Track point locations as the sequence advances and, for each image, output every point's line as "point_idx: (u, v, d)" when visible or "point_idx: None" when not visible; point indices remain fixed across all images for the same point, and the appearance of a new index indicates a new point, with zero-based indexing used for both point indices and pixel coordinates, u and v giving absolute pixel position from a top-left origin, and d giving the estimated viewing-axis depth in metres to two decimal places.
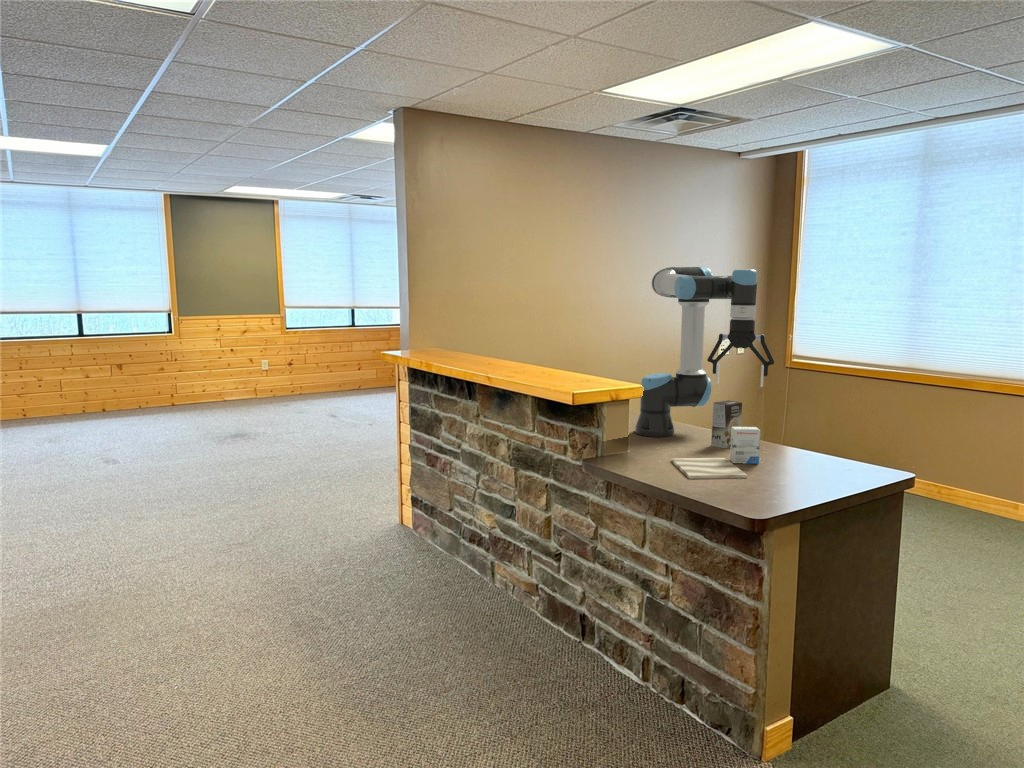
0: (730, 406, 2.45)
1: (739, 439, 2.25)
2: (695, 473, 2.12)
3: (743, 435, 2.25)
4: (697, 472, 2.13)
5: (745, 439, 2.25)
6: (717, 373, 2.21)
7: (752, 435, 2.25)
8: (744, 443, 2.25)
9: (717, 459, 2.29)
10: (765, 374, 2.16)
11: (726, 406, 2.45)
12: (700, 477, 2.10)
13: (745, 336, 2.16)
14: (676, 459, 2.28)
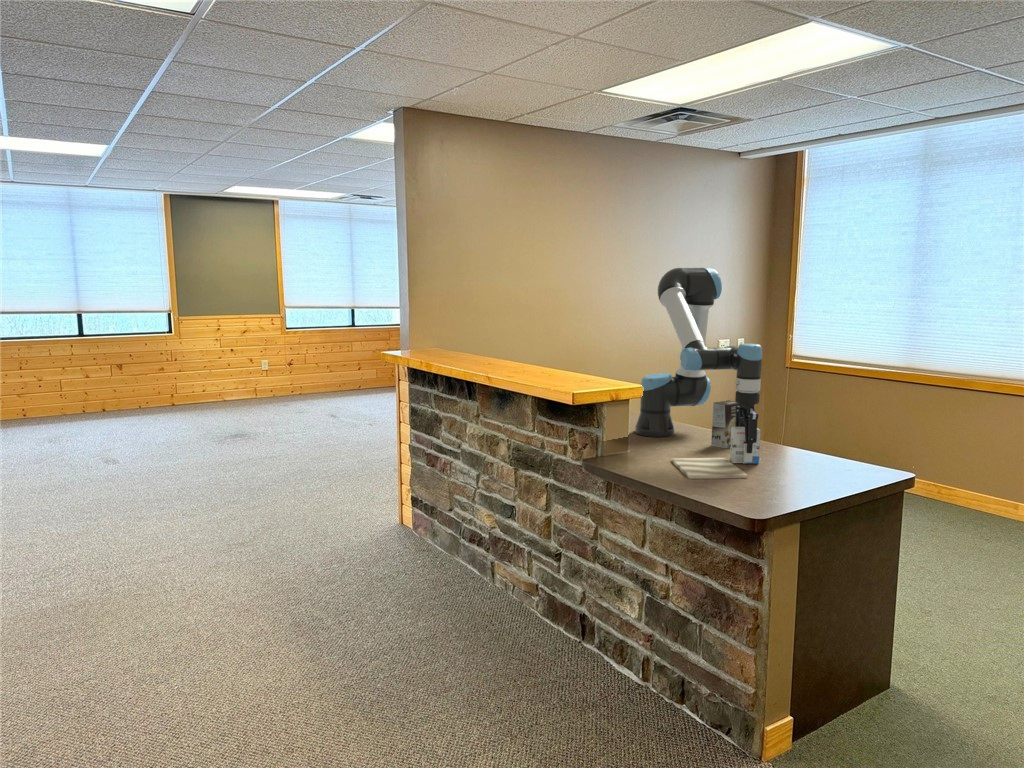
0: (730, 406, 2.45)
1: (739, 439, 2.25)
2: (695, 473, 2.12)
3: (743, 435, 2.25)
4: (697, 472, 2.13)
5: None
6: None
7: None
8: None
9: (717, 459, 2.29)
10: (747, 451, 2.24)
11: (726, 406, 2.45)
12: (700, 477, 2.10)
13: (745, 406, 2.24)
14: (676, 459, 2.28)
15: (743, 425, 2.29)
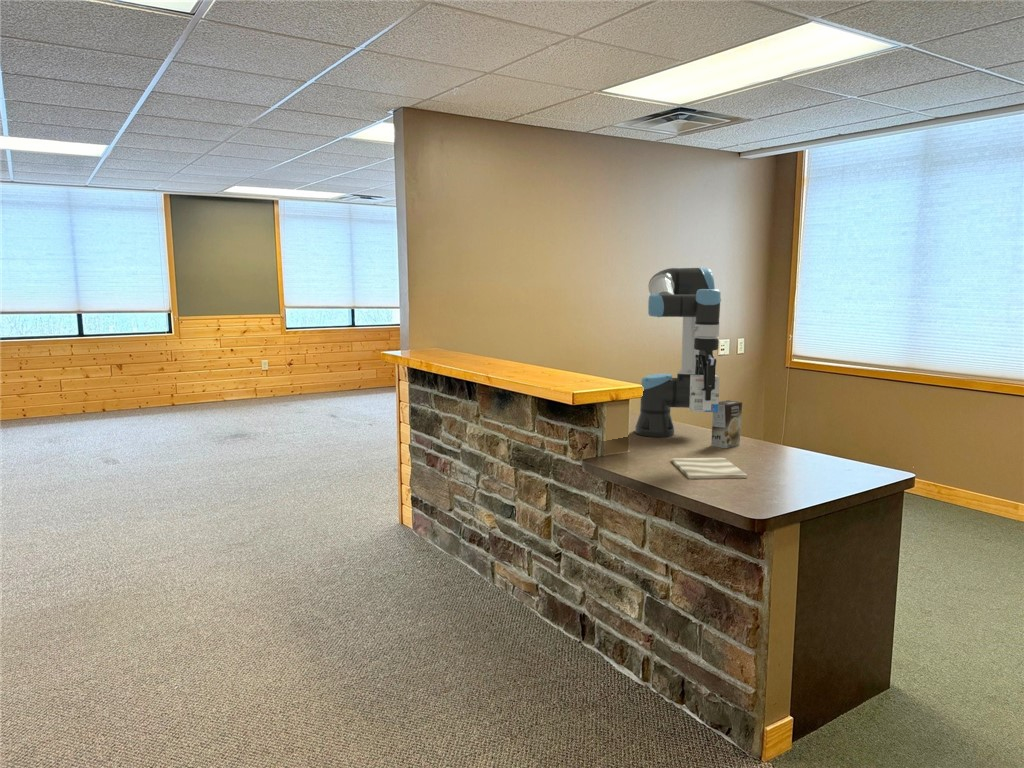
0: (730, 406, 2.45)
1: (697, 387, 2.21)
2: (695, 473, 2.12)
3: (702, 382, 2.21)
4: (697, 472, 2.13)
5: None
6: None
7: None
8: None
9: (717, 459, 2.29)
10: (705, 398, 2.20)
11: (726, 406, 2.45)
12: (700, 477, 2.10)
13: (703, 352, 2.20)
14: (676, 459, 2.28)
15: (702, 373, 2.25)
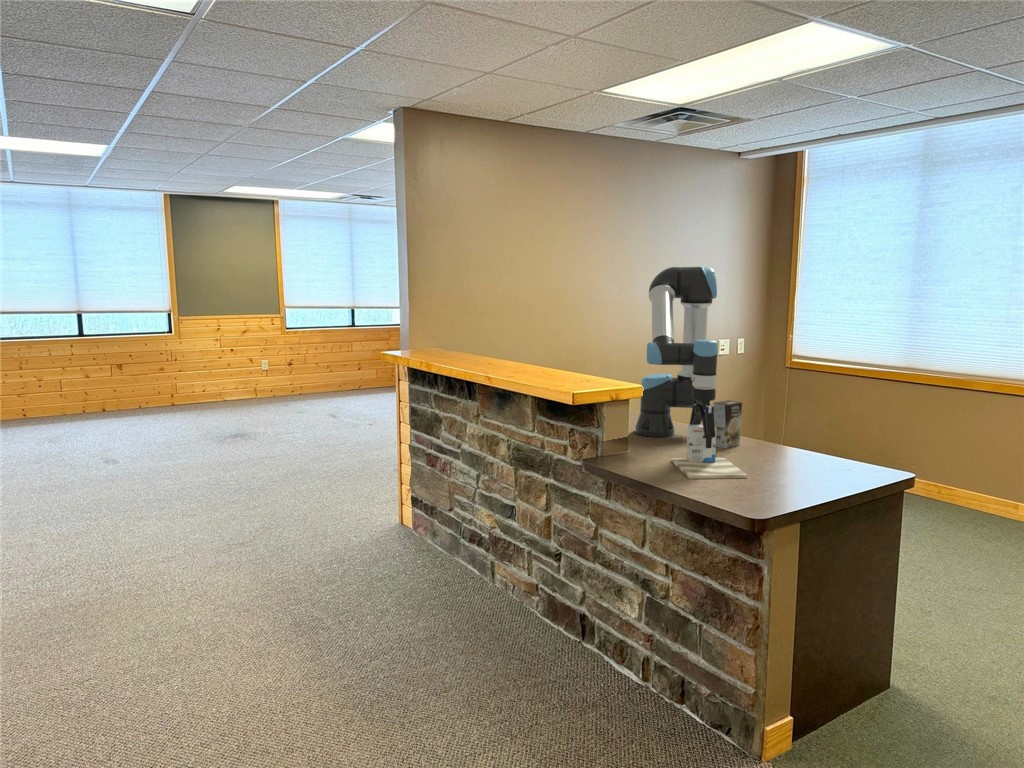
0: (730, 406, 2.45)
1: (695, 437, 2.24)
2: (695, 473, 2.12)
3: (699, 433, 2.23)
4: (697, 472, 2.13)
5: (701, 437, 2.23)
6: None
7: None
8: (700, 441, 2.24)
9: (717, 459, 2.29)
10: (706, 446, 2.19)
11: (726, 406, 2.45)
12: (700, 477, 2.10)
13: (700, 404, 2.23)
14: (676, 459, 2.28)
15: (698, 419, 2.29)
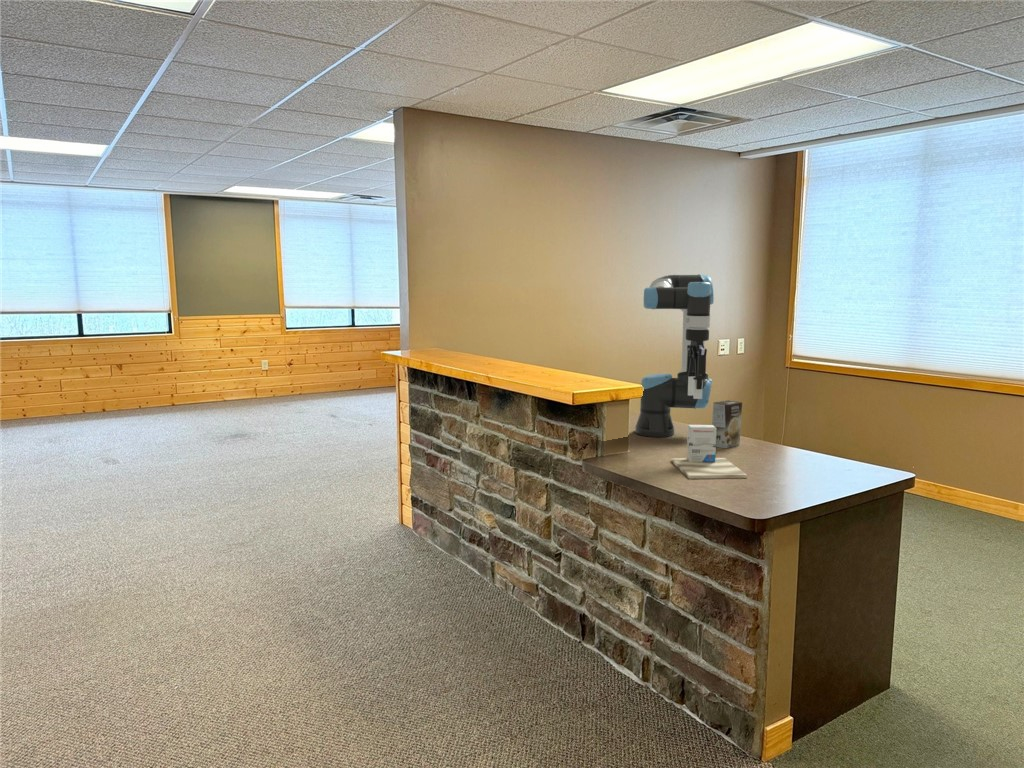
0: (730, 406, 2.45)
1: (695, 437, 2.24)
2: (695, 473, 2.12)
3: (699, 433, 2.23)
4: (697, 472, 2.13)
5: (701, 437, 2.23)
6: (688, 385, 2.35)
7: (708, 433, 2.23)
8: (700, 441, 2.24)
9: (717, 459, 2.29)
10: (697, 387, 2.28)
11: (726, 406, 2.45)
12: (700, 477, 2.10)
13: (695, 343, 2.28)
14: (676, 459, 2.28)
15: (694, 363, 2.33)
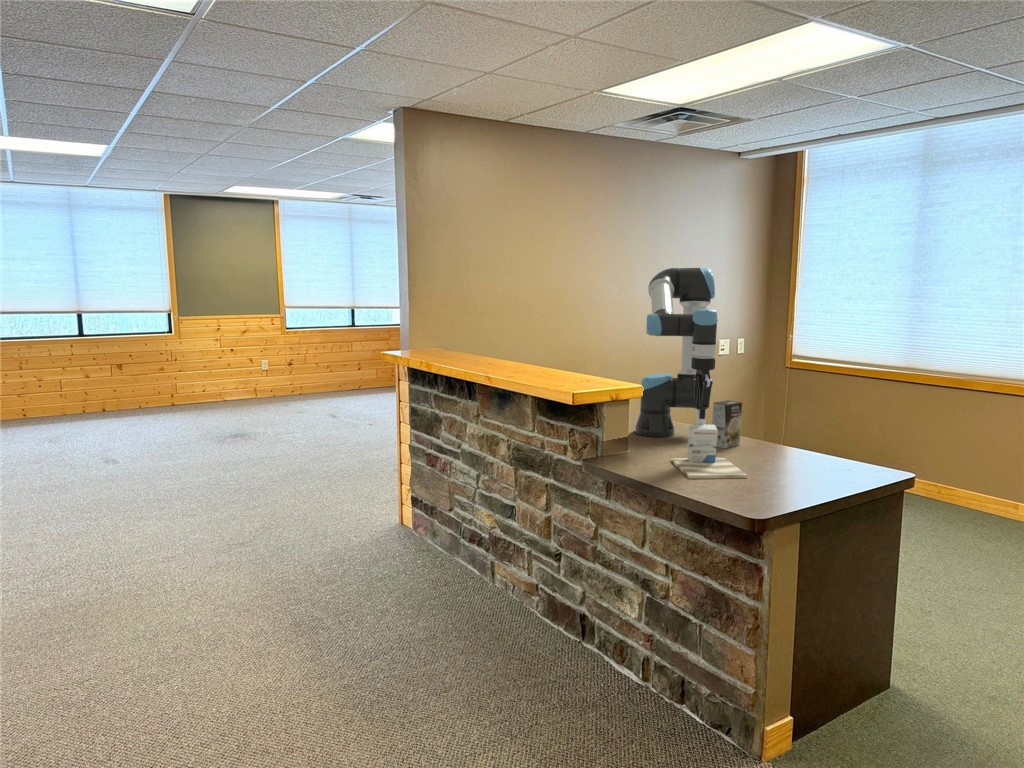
0: (730, 406, 2.45)
1: (696, 439, 2.22)
2: (695, 473, 2.12)
3: (700, 435, 2.21)
4: (697, 472, 2.13)
5: (702, 439, 2.22)
6: (696, 417, 2.26)
7: (709, 435, 2.21)
8: (701, 443, 2.22)
9: (717, 459, 2.29)
10: (700, 417, 2.25)
11: (726, 406, 2.45)
12: (700, 477, 2.10)
13: (701, 371, 2.22)
14: (676, 459, 2.28)
15: None
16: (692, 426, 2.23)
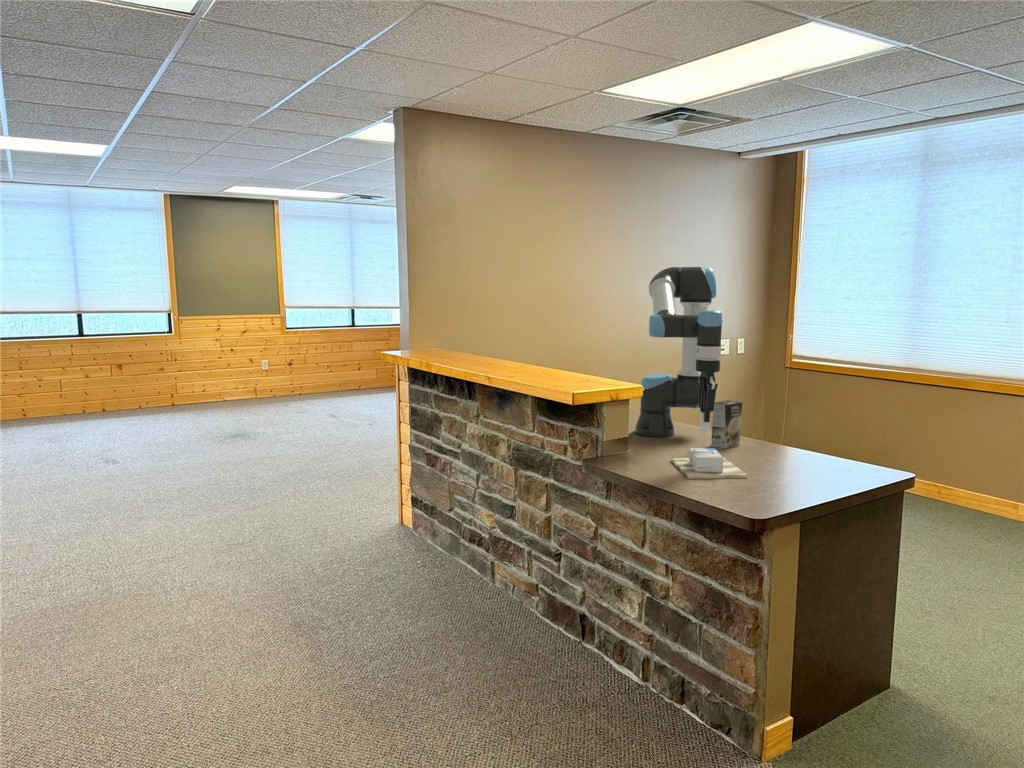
0: (730, 406, 2.45)
1: None
2: (695, 473, 2.12)
3: None
4: (697, 472, 2.13)
5: None
6: None
7: None
8: None
9: None
10: (704, 420, 2.20)
11: (726, 406, 2.45)
12: (700, 477, 2.10)
13: (705, 373, 2.18)
14: (676, 459, 2.28)
15: None
16: (698, 463, 2.13)
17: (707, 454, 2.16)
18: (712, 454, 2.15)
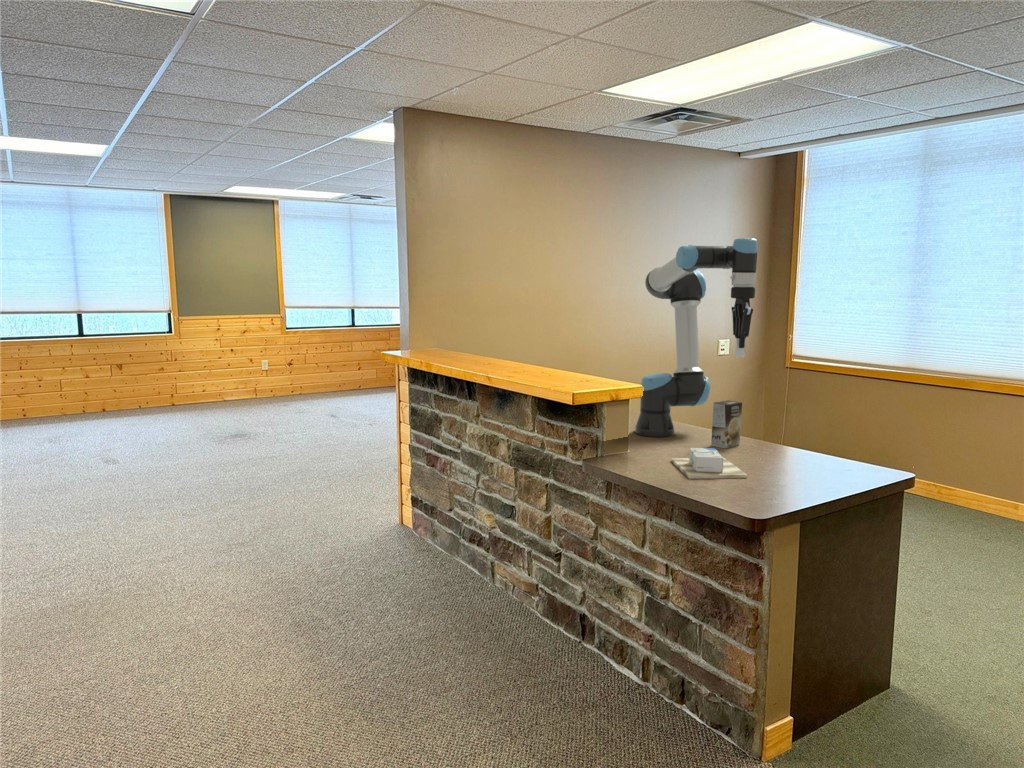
0: (730, 406, 2.45)
1: None
2: (695, 473, 2.12)
3: None
4: (697, 472, 2.13)
5: None
6: (735, 346, 2.29)
7: None
8: None
9: None
10: (739, 346, 2.27)
11: (726, 406, 2.45)
12: (700, 477, 2.10)
13: (741, 299, 2.25)
14: (676, 459, 2.28)
15: None
16: (698, 463, 2.13)
17: (707, 454, 2.16)
18: (712, 454, 2.15)
